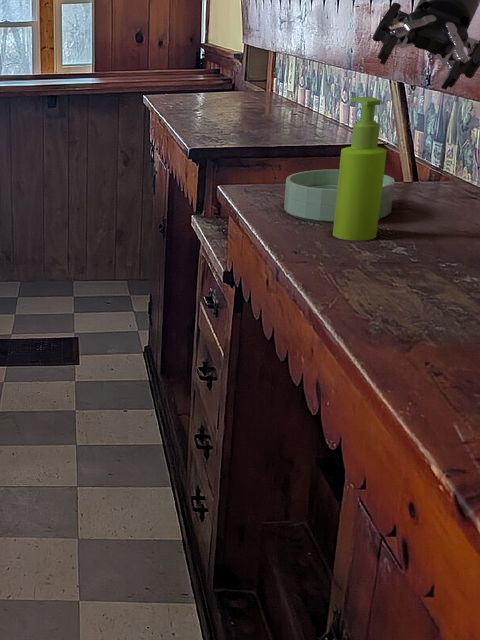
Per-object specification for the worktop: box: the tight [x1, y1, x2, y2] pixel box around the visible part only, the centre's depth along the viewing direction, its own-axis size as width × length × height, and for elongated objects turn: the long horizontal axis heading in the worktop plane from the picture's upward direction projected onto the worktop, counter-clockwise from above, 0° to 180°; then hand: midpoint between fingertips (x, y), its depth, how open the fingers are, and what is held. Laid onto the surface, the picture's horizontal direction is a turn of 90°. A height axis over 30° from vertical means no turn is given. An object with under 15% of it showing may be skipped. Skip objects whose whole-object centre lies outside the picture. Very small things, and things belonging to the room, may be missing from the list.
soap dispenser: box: [332, 96, 388, 242], centre depth 122 cm, size 6×7×20 cm
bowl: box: [283, 168, 396, 225], centre depth 140 cm, size 16×16×6 cm
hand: (415, 71), depth 115 cm, fingers open, 8 cm apart
